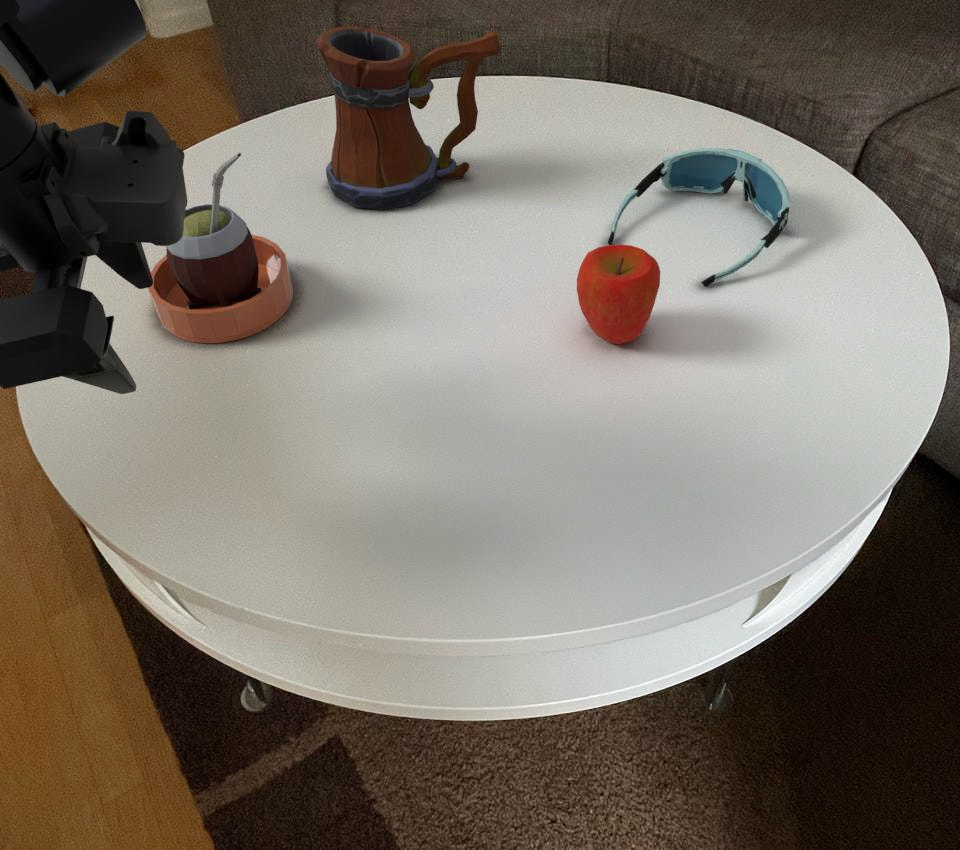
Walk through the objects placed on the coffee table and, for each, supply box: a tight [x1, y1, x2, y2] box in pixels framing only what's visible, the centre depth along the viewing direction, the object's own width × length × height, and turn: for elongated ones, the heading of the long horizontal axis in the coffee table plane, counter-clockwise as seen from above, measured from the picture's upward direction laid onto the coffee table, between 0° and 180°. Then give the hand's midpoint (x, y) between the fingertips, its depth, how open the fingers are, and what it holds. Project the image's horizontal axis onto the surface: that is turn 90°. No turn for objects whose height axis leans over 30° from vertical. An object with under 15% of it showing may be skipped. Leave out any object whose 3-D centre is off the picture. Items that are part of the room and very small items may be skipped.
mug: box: [315, 25, 502, 210], centre depth 88 cm, size 18×12×15 cm, turn 93°
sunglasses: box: [607, 147, 792, 287], centre depth 83 cm, size 14×15×5 cm
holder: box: [147, 234, 294, 344], centre depth 78 cm, size 12×12×3 cm
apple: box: [576, 244, 661, 345], centre depth 72 cm, size 6×6×8 cm
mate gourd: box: [165, 152, 262, 309], centre depth 73 cm, size 8×8×15 cm
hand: (138, 336), depth 60 cm, fingers open, 9 cm apart
